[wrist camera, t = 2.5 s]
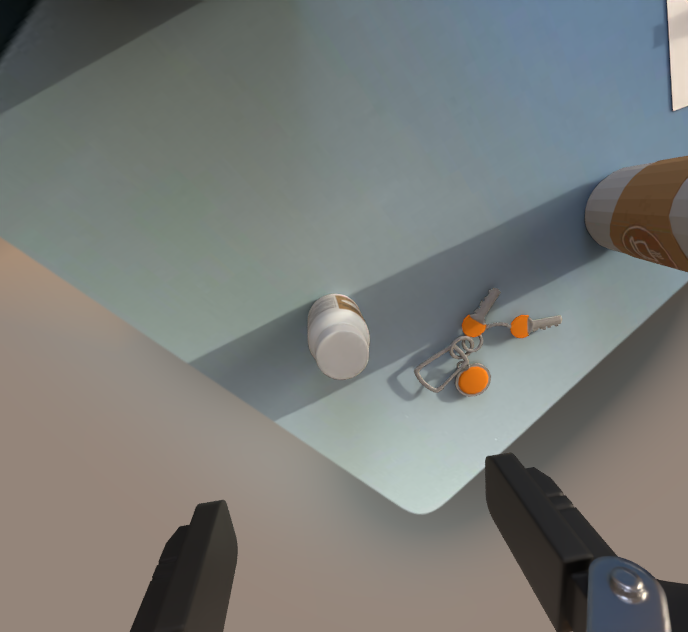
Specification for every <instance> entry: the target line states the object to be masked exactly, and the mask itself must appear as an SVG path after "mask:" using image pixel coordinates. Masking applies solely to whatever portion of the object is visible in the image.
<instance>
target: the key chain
mask: <svg viewBox="0 0 688 632" xmlns="http://www.w3.org/2000/svg"><path fill="white" fill-rule="evenodd" d="M488 292H490V293H489V295H488V296H487V297H486V296H485V298H484V299H485V301H484V302H483V301H482V300H481V302H480V303H481V304H480V305H479V306H481V307H480V309H479V308H477V310H475V311H474V312H475V313H476V314H472V315H468V316H467V317H466V318H464V320H463V323H462V330H463V332H464V333H465V335H464V336H461V337H458V338H456V339H455V340H454V341H453V342H452V343H451V345H450V346H448V347H446V348H445V349H443V350H441V351H440V352H438V353H437V354H435V355H433V356H432V357H430V358H429V359H427V360H426V361H424V362H423V363H421V364H420V365H419V366H418V367H416V368H415V371H414V372H415V375H416V377H417V379H418V380H419V382H420V383H421V384H422V385H423V386H424V387H426V388H427V389H429V390H431V391H433V392H437V393H438V392H439V391H441V390H442V389H444V388H443V387H444V386H445V385H446V384H447V383H448V382H449V381H450V380H451V379H452V378H453V377H454V376H455V375H456V374H457V373H458V374H457V376H456V378H455V385H456V388H457V390H458V391H459V392H460V393H461V394H462V395H465V396H468V397H471V396H477V395H479V394H482V393H483V392H484V391H485V390H486V389H487V388H488V386H489V384H490V381H491V375H490V372H489V370H488V369H487V368H486V367H485V366H484V365H481V364H478V363H472V364H469V363H468V362H469V359H468V358H467V356H469V355H470V353H471V352H476V351H477V350H479V349H480V348H481V346H482V345H483V337H482V335H481V334H482V333H483V332H484V331H485V330H486V329H487V328H491V327H492V326H497V325H499V326H505V327H507V326H508V328H510V330H511V333H512V334H513V335H514V336H515V337H517V338H525V337H527V336H529V335H528V334H529V333H530V332H531V331H532V330H533V332H534V331H536V330H538V328H540V329H543V330H545V329H546V326H548V328H550V327H551V326H552V325H555V326H558V324H561V322H562V317H561V315H558V316H553V317H547V318H542V319H537V320H532V319H531V318H529V316H528V315H520V316H518V317H516V318H515V319H514V320H513V321H512V322H511V325H508V324H507V323H503V322H499V323H497V322H496V323H493V324H488V325H487V326H486V324H485V319H484V317H485V316H486V314H487V313H488V311H489V310H490V308H491V307H492V305H493V304H494V302H495V300H496V299H497V297H498V296H499V294H500V293H501V292H500V291H499V289H497V288H492V290H491V289H490V290H489V291H488ZM468 336H469V337H468ZM477 336H478V337H479V338H480V344H479V346H478V347H477V348H475V349H473V348H474V342H473V340H472V339H471V338H470V337H477ZM460 340H462V346H463V348H464V349H465V350H466V351H467V352H466V353H465V354H464V352H463V351H462V350H461V349H460V348H459V347H457V346H456V345H455V344H456V343H457V342H459V341H460ZM465 340H468V341H469V342H470V348H469V349H468V348H467V347H466V345H465ZM453 349H454V350H456V351H457V352H458V353H459V354H460V356H457V355H455V354H454V353H453ZM448 351H450V355H451V356H452V357H453V358H455V359H463V360H464V361H460V362H458V363H457V368H458V369H457V370H456V372H455V373H454V374H453V375H452V376H451V377H450V378H449V379H448V380H447V381H446V382H445V383H444V384H443V385H442V386H439V387H438V388H433V387H432V386H430V385H429V384H427V383H426V382H425V381H424V380H423V378H422V377H421V375H420V374H419V371H420V370H421V369H422V368H423V367H424V366H426V365H427V364H429V363H430V362H432V361H433V360H435V359H436V358H438V357H439V356H441V355H443V354H444V353H446V352H448ZM460 363H462V364H461V366H460V367H459V364H460Z"/></svg>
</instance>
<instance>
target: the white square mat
mask: <svg viewBox="0 0 688 632" xmlns="http://www.w3.org/2000/svg"><path fill="white" fill-rule="evenodd" d="M667 9H668V27H669V45H670V64H671V82H672V100H673V111H675V110H677V109H680V108H683V107H686V106H688V0H667Z"/></svg>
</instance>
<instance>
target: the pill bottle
mask: <svg viewBox="0 0 688 632" xmlns="http://www.w3.org/2000/svg"><path fill="white" fill-rule="evenodd" d="M369 344H370V334H369V330H368V327H367V325H366V323H365V320H364V319H363V316H362V314H361V312H360V310H359V308H358V306H357V305H356V303H355V302H354V301H353V300H352V299H350V298H349V297H347V296H344V295H341V294H329V295H325V296H323V297H321V298H319V299H318V300H317V301H316V302H315V303H314V304H313V305H312V307H311V309H310V311H309V314H308V345H309V349H310V352H311V354H312V356H313V357H314V358H315V359H316V362H317V365H318V367H319V368H320V370H321V371H322V372H323V373H324V374H325V375H327V376H328V377H331V378H333V379H337V380H345V379H350V378H353V377H355V376H356V375H358V374H359V373H361V372H362V371H363V369H364V368H365V367H366V365H367V362H368V359H369V349H368V348H369Z"/></svg>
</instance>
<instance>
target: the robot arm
mask: <svg viewBox="0 0 688 632" xmlns="http://www.w3.org/2000/svg"><path fill="white" fill-rule="evenodd" d="M485 478H486V479H485V480H486V501H487V505H488V509H489V511H490V514H491V516H492V518H493V520H494V522H495V524H496V525H497V527H498V529H499V531H500V532H501V534H502V536H503V538H504V540H505V541H506V543H507V545H508V546H509V548H510V550H511V552H512V554H513V556H514V557H515V559H516V561H517V563H518V564H519V566H520V568H521V569H522V571H523V573H524V575H525V577H526V579H527V580H528V582H529V584H530V585H531V587H532V589H533V591H534V593H535V594H536V596H537V598H538V600H539V601H540V603H541V605H542V607H543V609H544V610H545V612H546V614H547V615H548V617H549V619H550V621H551V623H552V624H553V626H554V628H555V630H556V632H571V631H573V632H688V584H681V583H675V582H667V581H662V580H658V579H655V578H654V577H653V576H652V575H651V574H650V573H649V572H648V571H647V570H645V569H644V568H642V567H641V566H639V565H638V564H636V563H634V562H632V561H629V560H627V559H624V558H621V557H618V556H617V555H616V554H615V553H614V552H613V550H612V549H611V548H610V547H609V546H608V545H607V544H606V542H605V541H604V540H603V539H602V538H601V536H600V535H599V534H598V533H597V532H596V531H595V529H594V528H593V527H592V526H591V525H590V523H589V522H588V521H587V520H586V519H585V518H584V516H583V515H582V514H581V513H580V512H579V511H578V510H577V508H576V507H575V508H574V506H573V504H572V502H571V501H570V500H569V499H568V498H567V496H565V495H564V494H563V492H562V491H561V489H560V488H559V487H558V486H557V485H556V484H555V482H554V481H553V480H552V479H551V478H550V477H548V476H547V475H545V474H544V473H542V472H541V471H539V470H538V469H536V468H534V467H532V468H526V469H525V468H524V466H523V465H522V464H521V463H520V461H519V460H518V459H517V458H516V456H515V455H514V454H513V453H504V454H498V455H492V456H487V457H486V460H485ZM237 554H238V547H237V539H236V535H235V531H234V528H233V524H232V521H231V517H230V514H229V510H228V507H227V504H226V501H225V500H219V501H214V502H207V503H201V504H198V505H197V507H196V509H195V511H194V515H193V517H192V520H191V522H190V525H186V526H180V527H179V528H178V529H177V531H176V532H175V533H174V534H173V535H172V537H171V538H170V539H169V540H168V542H167V543H166V545H165V547H164V550H163V552H162V554H161V557H160V559H159V565H157V567H156V569H155V572H154V574H153V576H152V578H153V579H152V581H150V584H149V586H148V589H147V591H146V594H145V596H144V598H143V601H142V603H141V606H140V608H139V611H138V613H137V615H136V618H135V620H134V623H133V625H132V628H131V630H130V632H223V629H224V624H225V619H226V613H227V609H228V604H229V599H230V594H231V589H232V584H233V579H234V574H235V568H236V563H237Z"/></svg>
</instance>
